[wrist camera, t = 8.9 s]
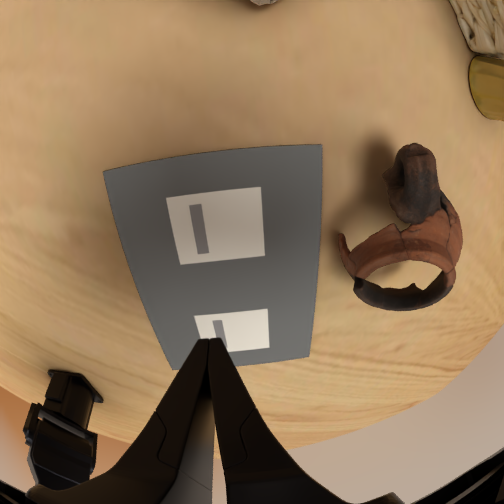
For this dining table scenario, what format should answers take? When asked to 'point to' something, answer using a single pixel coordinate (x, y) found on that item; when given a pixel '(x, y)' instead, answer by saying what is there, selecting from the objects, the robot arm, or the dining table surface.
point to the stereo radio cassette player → (263, 2)
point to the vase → (488, 86)
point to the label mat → (225, 248)
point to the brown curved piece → (409, 235)
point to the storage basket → (482, 25)
